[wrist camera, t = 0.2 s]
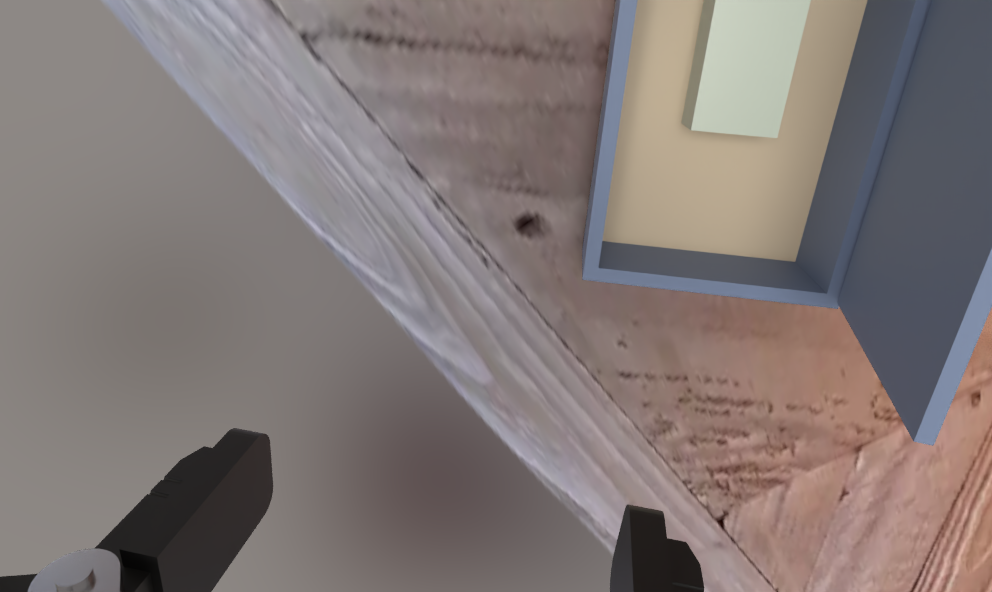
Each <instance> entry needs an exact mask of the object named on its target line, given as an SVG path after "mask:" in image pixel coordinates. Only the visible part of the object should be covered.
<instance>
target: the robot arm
mask: <svg viewBox="0 0 992 592" xmlns="http://www.w3.org/2000/svg"><path fill="white" fill-rule="evenodd" d="M272 493H273V478H272V464H271V450H270V440H269V437H268V435H266V434H263V433H258V432H252V431H247V430H242V429H237V428H233V429H231V430H229V431H228V432H227V433H226V435H224V437H223V438H222V439H221V440H220V441H219V442H218V443H217V444H216V445H215V446H214V447H213V448H209V447H203V448H201V449H199V450H197V451H195V452H194V453H192V454H190V455H188V456H187V457H185V458H183V459H182V460H180V461H179V462H178V463H177V464H176V465H175V466H174V467H173V468H172V470H171V471H170V472H169V473H168V474H167V475H166V476H165V478H164V480H161V481H160V482H159V483H158V484H157V485H156V486H155V487H154V488H153V489H152V490H151V493H150V494H149V495H148V494H147V495H146V496H145V497H144V498H143V499H142V500H141V502H139V503H138V504H137V505H136V507H134V509H133V510H132V511H131V512H130V513H129V514H128V515H127V516H126V517H125V518H124V519H123V520H122V521H121V522H120V523H119V524H118V525H117V526H116V527H115V528H114V529H113V530H112V531H111V532H110V533H109V534H108V535H107V536H106V537H105V538H104V539H103V540H102V541H101V543H100V544H99V545H98V546H96V547H95V548H94V549H84V550H79V551H76V552H73V553H69V554H67V555H65V556H62V557H60V558H58V559H57V560H55V561H53V562H52V563H50V564H49V565H47V566H46V567H45V568H44V569H43V570H41V571H40V572H39V573H38V574H31V575H18V576H6V577H0V592H211V591H212V590H213V588H214V587H215V586H216V584H217V583H218V581H219V580H220V578H221V577H222V575H223V574H224V573H225V571H226V570H227V568H228V567H229V565H230V564H231V563H232V561H233V560H234V558H235V557H236V555H237V554H238V552H239V551H240V550H241V548H242V546H243V545H244V544H245V542H246V541H247V539H248V538H249V537H250V535H251V534H252V532H253V531H254V529H255V528H256V526H257V525H258V524H259V522H260V521H261V519H262V518H263V516H264V515H265V513H266V511H267V509H268V507H269V504H270V501H271V498H272ZM610 592H704V584H703V578H702V572H701V567H700V564H699V562H698V560H697V559H696V557H695V555H694V554H693V552H692V551H691V549H690V547H689V546H688V544H687V543H686V542H683V541H678V540H673V539H667V536H666V527H665V519H664V514H663V512H662V511H659V510H654V509H649V508H643V507H638V506H633V505H627V506H626V508H625V511H624V515H623V519H622V523H621V528H620V532H619V536H618V540H617V544H616V548H615V552H614V556H613V561H612V568H611V578H610Z"/></svg>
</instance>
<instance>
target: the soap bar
mask: <svg viewBox="0 0 992 592" xmlns="http://www.w3.org/2000/svg"><path fill="white" fill-rule="evenodd" d="M810 2H811V0H704V2H703V8H702V13H701V18H700V24H699V29H698V35H697V40H696V46H695V51H694V57H693V62H692V67H691V73H690V78H689V84H688V89H687V95H686V100H685V106H684V111H683V116H682V122H681V123H682V124H683V125H684V126H686V127H687V128H688V129H690V130H692V131H703V132H714V133H725V134H736V135H747V136H758V137H770V138H777V137H778V133H779V129H780V125H781V120H782V116H783V112H784V108H785V104H786V100H787V96H788V92H789V88H790V84H791V80H792V75H793V71H794V67H795V63H796V59H797V55H798V51H799V47H800V43H801V39H802V35H803V30H804V26H805V22H806V18H807V14H808V10H809V6H810Z"/></svg>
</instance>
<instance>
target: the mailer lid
mask: <svg viewBox="0 0 992 592" xmlns="http://www.w3.org/2000/svg"><path fill="white" fill-rule="evenodd" d="M838 305H839V307H840V308H841V310H842V312H843V314H844V316H845V317H846V319H847V321H848V323H849V325H850V327H851V328H852V330H853V332H854V334H855V336H856V337H857V339H858V341H859V343H860V345H861V347H862V348H863V350H864V352H865V354H866V356H867V357H868V359H869V361H870V363H871V365H872V367H873V368H874V370H875V372H876V374H877V376H878V377H879V379H880V381H881V383H882V385H883V387H884V388H885V390H886V392H887V394H888V396H889V397H890V399H891V401H892V403H893V405H894V406H895V408H896V410H897V412H898V414H899V416H900V417H901V419H902V421H903V423H904V425H905V426H906V428H907V430H908V432H909V434H910V436H911V437H912V439H913V441H914V442H919V443H923V444H928V445H934V443H935V441H936V438H937V436H938V434H939V431H940V429H941V426H942V424H943V422H944V419H945V417H946V414H947V412H948V410H949V407H950V405H951V403H952V400H953V398H954V395H955V393H956V391H957V388H958V386H959V384H960V381H961V379H962V376H963V374H964V372H965V369H966V367H967V364H968V362H969V360H970V357H971V355H972V353H973V350H974V348H975V345H976V343H977V341H978V338H979V336H980V334H981V331H982V329H983V326H984V324H985V322H986V319H987V317H988V314H989V312H990V310H991V307H992V0H932V2H931V6H930V9H929V12H928V15H927V18H926V22H925V25H924V28H923V31H922V34H921V38H920V41H919V44H918V47H917V50H916V54H915V57H914V60H913V63H912V66H911V70H910V73H909V76H908V79H907V82H906V85H905V89H904V92H903V95H902V98H901V101H900V105H899V108H898V111H897V114H896V117H895V121H894V124H893V127H892V130H891V133H890V137H889V140H888V143H887V146H886V149H885V153H884V156H883V159H882V162H881V165H880V169H879V172H878V175H877V178H876V181H875V184H874V188H873V191H872V194H871V197H870V200H869V204H868V207H867V210H866V213H865V216H864V220H863V223H862V226H861V229H860V232H859V236H858V239H857V242H856V245H855V248H854V252H853V255H852V258H851V261H850V264H849V268H848V271H847V274H846V277H845V280H844V283H843V287H842V290H841V293H840V296H839V299H838Z"/></svg>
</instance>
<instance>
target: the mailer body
mask: <svg viewBox="0 0 992 592" xmlns="http://www.w3.org/2000/svg"><path fill="white" fill-rule="evenodd" d="M703 2H704V0H616V1H615V8H614V16H613V23H612V31H611V38H610V46H609V53H608V60H607V68H606V75H605V83H604V90H603V98H602V105H601V113H600V120H599V128H598V135H597V143H596V150H595V158H594V165H593V173H592V180H591V188H590V195H589V203H588V210H587V218H586V225H585V233H584V240H583V248H582V280H590V281H599V282H607V283H616V284H625V285H634V286H642V287H651V288H660V289H669V290H678V291H686V292H695V293H704V294H713V295H721V296H730V297H739V298H748V299H756V300H765V301H774V302H783V303H791V304H800V305H809V306H818V307H827V308H835V309H838V307H839V305H838V299H839V296H840V293H841V290H842V287H843V283H844V280H845V277H846V274H847V271H848V268H849V264H850V261H851V258H852V255H853V252H854V248H855V245H856V242H857V239H858V236H859V232H860V229H861V226H862V223H863V220H864V216H865V213H866V210H867V207H868V204H869V200H870V197H871V194H872V191H873V188H874V184H875V181H876V178H877V175H878V172H879V169H880V165H881V162H882V159H883V156H884V153H885V149H886V146H887V143H888V140H889V137H890V133H891V130H892V127H893V124H894V121H895V117H896V114H897V111H898V108H899V105H900V101H901V98H902V95H903V92H904V89H905V85H906V82H907V79H908V76H909V73H910V70H911V66H912V63H913V60H914V57H915V54H916V50H917V47H918V44H919V41H920V38H921V34H922V31H923V28H924V25H925V22H926V18H927V15H928V12H929V9H930V6H931V2H932V0H811V2H810V6H809V10H808V14H807V18H806V22H805V26H804V30H803V35H802V39H801V43H800V47H799V51H798V55H797V59H796V63H795V67H794V71H793V75H792V80H791V84H790V88H789V92H788V96H787V100H786V104H785V108H784V112H783V116H782V120H781V125H780V129H779V133H778V137H777V138H770V137H758V136H747V135H736V134H725V133H714V132H703V131H692V130H690V129H688V128H687V127H686V126H684V125H683V124H682V123H681V122H682V116H683V111H684V106H685V100H686V95H687V89H688V84H689V78H690V73H691V67H692V62H693V57H694V51H695V46H696V40H697V35H698V29H699V24H700V18H701V13H702V8H703Z"/></svg>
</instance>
